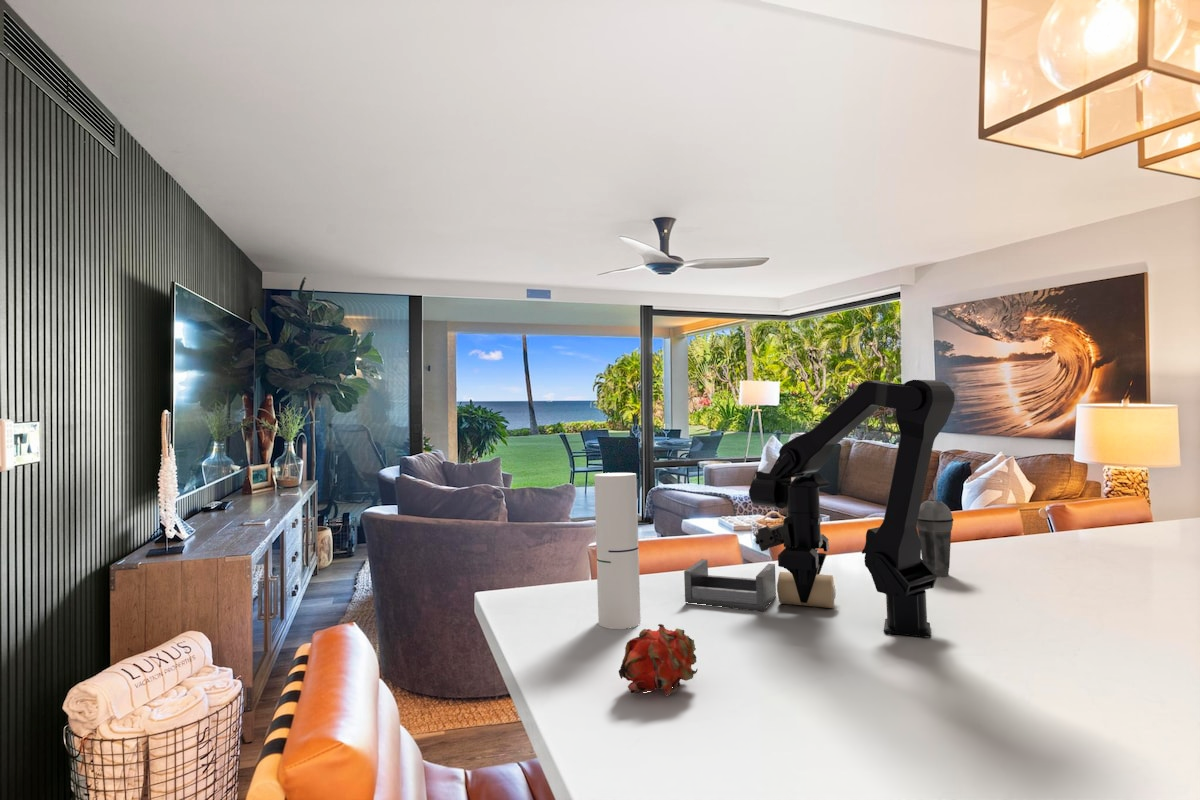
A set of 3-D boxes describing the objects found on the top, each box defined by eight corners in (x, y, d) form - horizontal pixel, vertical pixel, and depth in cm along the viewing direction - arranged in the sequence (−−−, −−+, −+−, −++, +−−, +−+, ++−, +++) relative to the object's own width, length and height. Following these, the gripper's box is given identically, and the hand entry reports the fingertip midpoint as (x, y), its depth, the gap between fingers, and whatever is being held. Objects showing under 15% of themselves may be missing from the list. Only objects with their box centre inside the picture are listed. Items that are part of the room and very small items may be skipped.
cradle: (776, 595, 126) (774, 564, 126) (764, 611, 116) (762, 576, 116) (702, 589, 132) (701, 559, 132) (685, 603, 122) (684, 571, 122)
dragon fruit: (703, 691, 87) (629, 730, 80) (665, 640, 92) (593, 673, 86) (722, 651, 82) (646, 689, 76) (681, 600, 88) (606, 631, 81)
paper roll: (837, 603, 120) (835, 572, 120) (833, 612, 115) (832, 579, 115) (781, 598, 124) (780, 568, 124) (776, 607, 119) (774, 575, 119)
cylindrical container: (637, 629, 108) (632, 475, 109) (594, 628, 109) (590, 476, 110) (643, 617, 115) (639, 472, 116) (603, 615, 116) (598, 472, 117)
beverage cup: (909, 573, 140) (905, 478, 141) (933, 569, 144) (929, 476, 144) (939, 580, 134) (935, 481, 135) (964, 575, 137) (959, 478, 138)
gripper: (768, 503, 132) (771, 582, 131) (746, 516, 115) (749, 607, 114) (827, 505, 127) (830, 587, 126) (813, 519, 110) (817, 614, 109)
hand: (806, 598), depth 119 cm, fingers closed on paper roll, 6 cm apart
